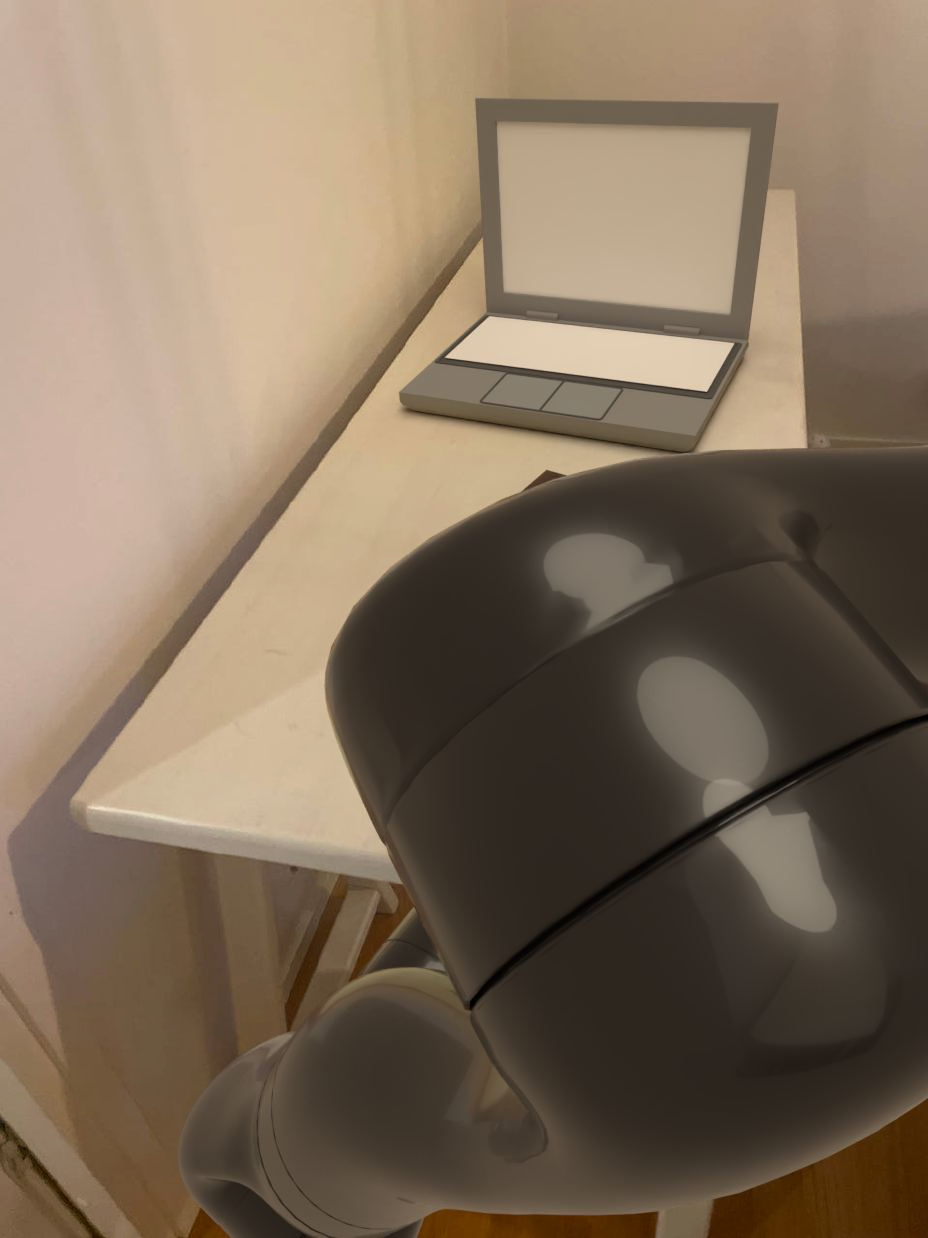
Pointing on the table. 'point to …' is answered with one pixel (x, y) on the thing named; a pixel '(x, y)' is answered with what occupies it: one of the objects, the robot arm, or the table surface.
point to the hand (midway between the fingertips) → (662, 695)
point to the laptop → (610, 267)
